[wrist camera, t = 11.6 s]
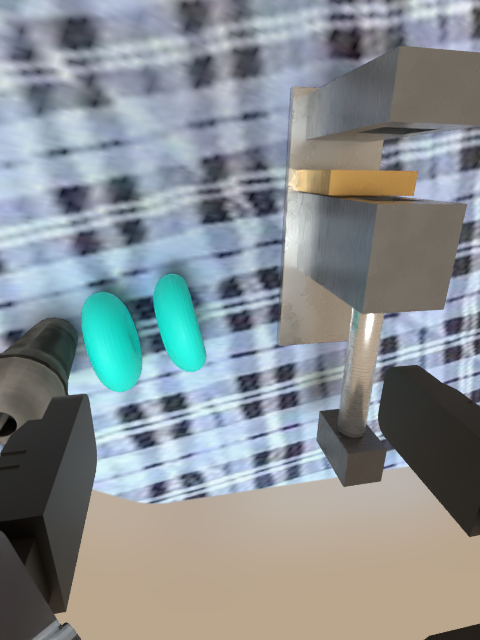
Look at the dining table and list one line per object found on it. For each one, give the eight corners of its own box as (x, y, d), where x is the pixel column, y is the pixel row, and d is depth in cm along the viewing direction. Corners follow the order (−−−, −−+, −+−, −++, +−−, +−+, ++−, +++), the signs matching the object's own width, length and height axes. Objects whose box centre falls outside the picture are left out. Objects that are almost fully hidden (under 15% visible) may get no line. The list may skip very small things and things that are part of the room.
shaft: (341, 210, 34) (383, 219, 28) (381, 210, 35) (431, 219, 28) (316, 440, 43) (343, 486, 37) (348, 436, 44) (380, 481, 38)
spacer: (298, 170, 38) (331, 169, 31) (370, 171, 40) (417, 171, 33) (297, 190, 39) (328, 195, 32) (368, 191, 41) (413, 195, 33)
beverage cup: (105, 332, 42) (62, 458, 23) (64, 378, 43) (-7, 533, 24) (45, 291, 39) (-56, 398, 21) (3, 341, 40) (-129, 485, 22)
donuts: (87, 284, 39) (66, 318, 30) (180, 260, 40) (187, 286, 31) (119, 365, 43) (108, 416, 34) (203, 341, 44) (214, 385, 35)
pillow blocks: (290, 88, 36) (378, 33, 22) (384, 94, 38) (522, 46, 24) (276, 342, 46) (330, 421, 32) (352, 336, 48) (436, 409, 34)
